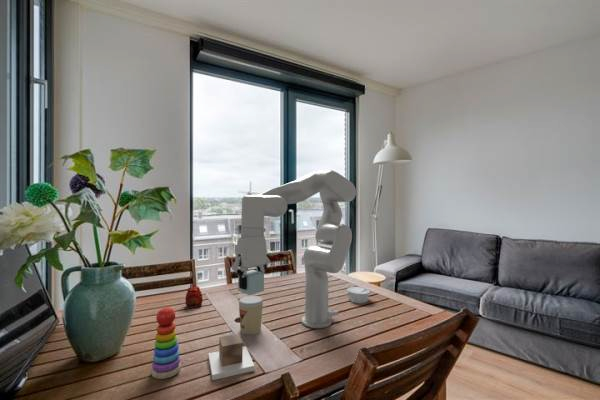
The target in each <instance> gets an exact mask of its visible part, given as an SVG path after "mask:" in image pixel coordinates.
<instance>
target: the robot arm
mask: <svg viewBox="0 0 600 400" xmlns="http://www.w3.org/2000/svg"><path fill="white" fill-rule="evenodd" d="M317 194H319V198H320V200H321V204H322V205H323V206H322V207H323V211H322V215H321V218H320V221H319V222H318V226H317V228H316V231H315V241H316V242H317V243H319V244H321V245H310V246H308V247H306V249H305V251H304V252H303V256H302V257H303V259H302V260H303V265H304V266H303V267H304V271H305V287H304V288H305V292H304V293H305V294H304V295H305V297H304V301H305V302H304V306H305V307H304V315H303V316H301V320H300V321H301V324H302V325H303V326H306V327H308V328H311V329H324V328H328V327H330V326H331V325H332V322H333V320H332V317H336V316H339V311H338V310H334V311H333V309H329V281H330V280H329V275H328V273H330V274H337V273H339V272H341V271H342V269H343V267H344V266H345V263H346V260H347V257H348V253H349V250H350V247H351V245H352V242H353V241H352V239H353V233H352V229H351V228H350V226H349V225H346V224H344V223H342V218H343V211H342V208H341V207H340V205H339V203H349V202H352V201H353V200H354V199H355V198H356V195H357V190H356V187H355V185H354V183H353V182H351V181H350V180H349V179H348V178H346V177H345V176H343V175H342V174H340V173H339V172H337V171H335V170H333V169H331V170H330V169H329V170H317V171H312V172H310V173H308V174H306V175H304V176H302V177H299V178H298V179H295V180H293V181H290V182H288V183H285V184H282V185H279V186H275V187H273V188H270V189H268V190H266V191H264V192H261V193H260V194H256V195H253V194H251V195H249V194H248V195H244V196H243V197H242V198H241V220H240V221H241V225H240V226H241V227H240V236H238V239H237V243H236V249H235V259H234V262H233V263H232V265H231V270H233V271H234V273H235V274H236V275H237V276H239V288H241V289H244V290H246V289H247V277H245V276H246V273H247V271H249V269H251V268H256V271H259V272H262V273H264V274H265V272H266V269H267V268H268V265H270V263H271V260H270V259H269V257H268V256H267V252H268V251H267V241H266V236H265V232H266V231H267V230H266V228H265V217H269V218H279V217H282V216H284V215H285V214H286V212H287V211H288V205H292V204H298V203H303V202H304V201H307V200H308V199H309V198H311V197H313V196H315V195H317ZM323 245H324V246H323ZM327 246H331V247H327Z"/></svg>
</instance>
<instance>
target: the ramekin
mask: <svg viewBox="0 0 600 400" xmlns="http://www.w3.org/2000/svg"><path fill="white" fill-rule="evenodd" d="M346 291H347V297H348V300H349V302H351V303H354V302H355V303H354V304H366V303H368V301H369V298H370V293H371V292H370V290H369V289H368V288H366V287H363V286H362V287H361V286H350V287H347V290H346ZM365 302H366V303H365Z"/></svg>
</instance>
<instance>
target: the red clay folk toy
mask: <svg viewBox="0 0 600 400" xmlns="http://www.w3.org/2000/svg"><path fill="white" fill-rule="evenodd" d="M195 276H196V275H195V274H192V276H189V279H192V278H193V285H192V287H188V289H187V292H186V295H185V305H186V306H185V307H186V308H189V309H190V308H195V309H196V308H199V307H201V306H202V304H203V302H204V301H203V293H202V291H201V289H200V286H196V280H195V279H196V278H195Z"/></svg>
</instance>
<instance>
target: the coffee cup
mask: <svg viewBox="0 0 600 400" xmlns="http://www.w3.org/2000/svg"><path fill="white" fill-rule="evenodd" d="M263 303H264V300H263V297H261V296H259V295H255V294H252V295H244V296H243V297H240V298H239V300H238V308H239V309H238V311H239V327H240V328H239V329H240V333H242V334H243V335H247V336H248V335H249V336H251V335H257V334H258V333H259V332H261V329H262V319H263V318H262V317H263V315H262V314H263V305H264V304H263Z"/></svg>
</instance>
